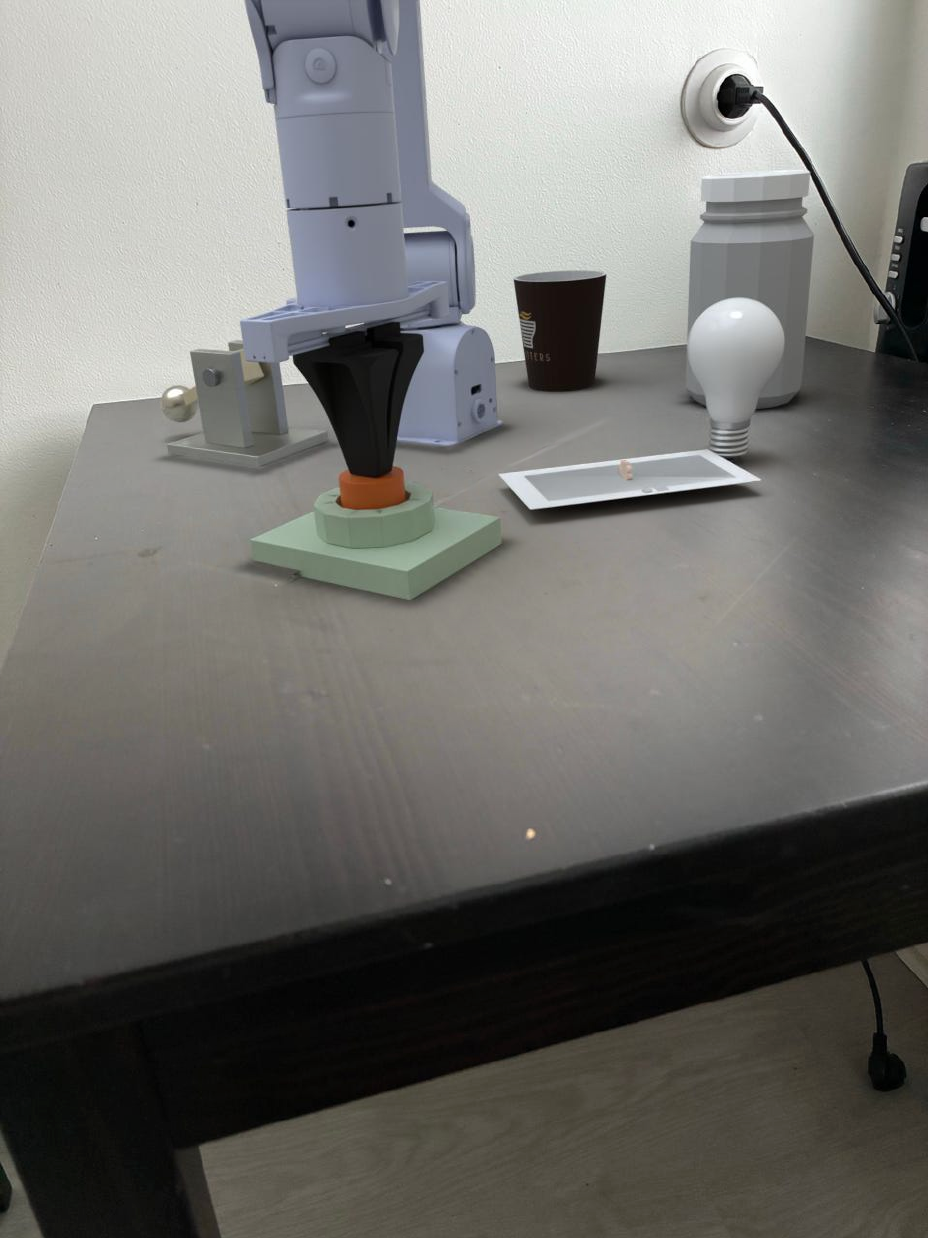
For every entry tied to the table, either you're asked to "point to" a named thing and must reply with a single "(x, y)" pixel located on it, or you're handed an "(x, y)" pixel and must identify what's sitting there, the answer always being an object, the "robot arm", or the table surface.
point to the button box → (380, 543)
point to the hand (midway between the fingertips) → (370, 472)
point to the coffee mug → (560, 327)
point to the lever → (184, 401)
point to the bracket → (241, 413)
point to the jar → (755, 262)
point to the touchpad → (624, 478)
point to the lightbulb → (734, 366)
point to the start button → (372, 490)
